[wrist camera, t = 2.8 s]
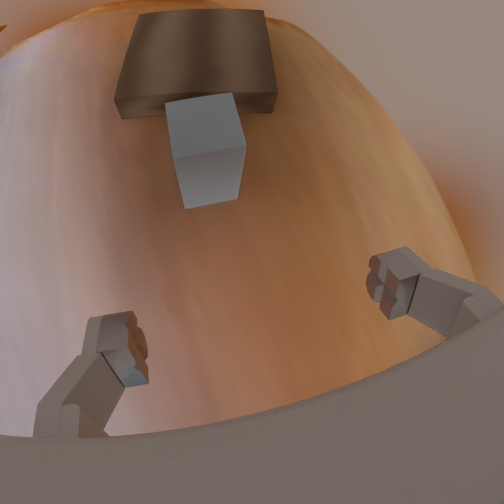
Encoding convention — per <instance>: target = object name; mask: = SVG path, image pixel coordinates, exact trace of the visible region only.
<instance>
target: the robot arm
mask: <svg viewBox="0 0 504 504" xmlns="http://www.w3.org/2000/svg"><path fill="white" fill-rule="evenodd" d="M369 267H370V269H371V271H370V272H369V274H368V275H367V280H366V286H367V291H368V293H369V295H370V297H371V298H372V299H373V300H374V301H376V302H378V303H380V310H381V311H382V312H383V313H384V315H385V316H386V317H387V318H388V320H391V319H394V318H397V317H400V316H403V315H406V314H408V316H410V317H412V318H414V319H416V320H417V321H419V322H421V323H423V324H425V325H426V326H428V327H430V328H432V329H433V330H435V331H437V332H439V333H441V334H442V335H444V336H446V337H447V338H446V340H445V341H444V342H443V343H441V344H439V345H437V346H435V347H433V348H431V349H429V350H427V351H425V352H423V353H421V354H419V355H417V356H414V357H412V358H410V359H408V360H406V361H404V362H402V363H399V364H397V365H395V366H393V367H390V368H388V369H386V370H383V371H381V372H379V373H376V374H374V375H371V376H369V377H366V378H364V379H361V380H359V381H356V382H354V383H351V384H348V385H346V386H343V387H340V388H337V389H335V390H332V391H329V392H326V393H323V394H320V395H317V396H314V397H311V398H308V399H305V400H301V401H298V402H295V403H292V404H288V405H285V406H281V407H278V408H274V409H270V410H267V411H263V412H259V413H255V414H251V415H247V416H243V417H238V418H234V419H229V420H225V421H220V422H215V423H210V424H205V425H199V426H193V427H188V428H181V429H175V430H168V431H161V432H153V433H144V434H134V435H123V436H109V435H108V434H107V433H106V432H105V431H104V430H103V429H104V427H105V426H106V424H107V422H108V420H109V418H110V416H111V414H112V412H113V410H114V408H115V407H116V405H117V403H118V401H119V399H120V397H121V395H122V394H123V392H124V390H125V388H126V387H132V386H138V385H143V384H149V380H148V366H147V364H146V362H145V360H146V358H147V357H148V349H147V343H146V339H145V336H144V333H143V331H142V329H141V328H139V327H137V318H136V316H135V314H134V312H133V311H126V312H120V313H114V314H108V315H104V316H97V317H91V318H90V319H89V320H88V322H87V327H86V332H85V337H84V342H83V348H82V353H81V355H79V356H77V357H76V358H75V359H74V360H73V362H72V363H71V364H70V365H69V366H68V368H67V369H66V370H65V371H64V372H63V374H62V375H61V376H60V377H59V378H58V380H57V381H56V382H55V383H54V385H53V386H52V387H51V388H50V390H49V391H48V392H47V393H46V395H45V396H44V397H43V398H42V400H41V401H40V402H39V403H38V406H37V411H36V418H35V424H34V431H33V437H21V436H8V435H0V504H504V304H503V303H502V302H501V301H500V300H499V299H498V298H497V297H496V296H495V295H494V294H493V293H492V292H491V291H490V290H489V289H488V288H487V287H484V286H482V285H479V284H477V283H474V282H471V281H468V280H466V279H463V278H460V277H457V276H455V275H452V274H449V273H446V272H444V271H441V270H438V269H432V268H430V267H429V266H428V265H427V264H426V263H425V262H424V261H423V260H422V259H421V258H420V257H418V256H417V255H416V254H415V253H414V252H413V251H412V250H411V249H409V248H408V247H402V248H398V249H395V250H392V251H389V252H385V253H381V254H378V255H374V256H372V257H371V258H370V260H369Z"/></svg>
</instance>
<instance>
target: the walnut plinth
mask: <svg viewBox="0 0 504 504" xmlns="http://www.w3.org/2000/svg"><path fill="white" fill-rule="evenodd" d="M231 92H232V95H233V98H234V101H235V105H236V108H237V112H239V113H272V111H273V107H274V104H275V100H276V97H277V93H278V92H277V86H276V79H275V73H274V67H273V61H272V55H271V49H270V43H269V38H268V32H267V27H266V21H265V16H264V11H263V10H248V9H193V10H177V11H165V12H155V13H147V14H140V15H139V17H138V20H137V23H136V25H135V28H134V31H133V34H132V37H131V40H130V43H129V47H128V50H127V53H126V56H125V60H124V63H123V67H122V70H121V74H120V78H119V81H118V85H117V89H116V93H115V97H114V101H115V103H116V106H117V109H118V111H119V114H120V116H121V119H128V118H137V117H147V116H159V115H166V108H165V103H169V102H174V101H179V100H184V99H190V98H196V97H202V96H209V95H216V94H223V93H231Z"/></svg>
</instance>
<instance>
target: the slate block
mask: <svg viewBox="0 0 504 504" xmlns="http://www.w3.org/2000/svg"><path fill="white" fill-rule="evenodd" d="M165 108H166V116H167V123H168V131H169V138H170V145H171V152H172V158H173V163H174V167H175V171H176V175H177V179H178V183H179V187H180V191H181V195H182V199H183V203H184V207H185V209H190V208H195V207H199V206H204V205H209V204H214V203H219V202H225V201H230V200H235V199H238V193H239V187H240V182H241V176H242V171H243V165H244V160H245V155H246V149H247V143H246V140H245V136H244V133H243V129H242V126H241V122H240V119H239V115H238V112H237V108H236V105H235V101H234V98H233V95H232V92H231V93H223V94H216V95H209V96H202V97H196V98H190V99H184V100H179V101H174V102H169V103H165Z"/></svg>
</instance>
